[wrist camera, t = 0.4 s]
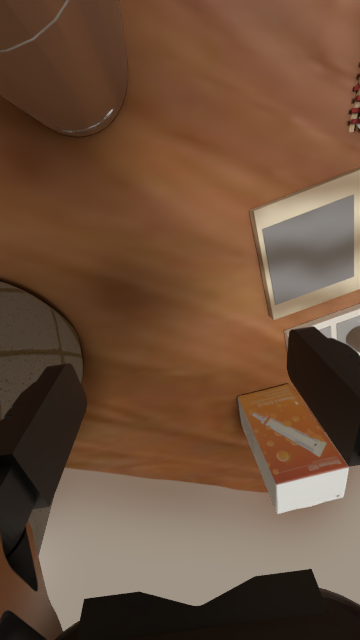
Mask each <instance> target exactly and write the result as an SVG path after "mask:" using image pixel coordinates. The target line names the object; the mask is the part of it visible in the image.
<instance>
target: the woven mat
mask: <svg viewBox="0 0 360 640" xmlns="http://www.w3.org/2000/svg"><path fill="white" fill-rule="evenodd" d="M358 83H359V85H356V86H355V88H354V91H355V92H356V91H358V92H357V94H356V95H355V101H354V106H353V108H352V111H351V114H352V116H351V121H350V130H349V132H353V131H354V127H355V124H356V125H357V126H358V127H359V129H360V117H359V118H358V119H357V116H358V113H360V76H359V80H358Z"/></svg>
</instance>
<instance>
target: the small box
mask: <svg viewBox="0 0 360 640" xmlns="http://www.w3.org/2000/svg"><path fill="white" fill-rule="evenodd" d="M238 404H239V412H240V419H241V425H242V427H243V430H244V433H245V435H246V438H247V440H248V443H249V445H250V448H251V450H252V452H253V455H254V457H255V460H256V462H257V465H258V467H259V470H260V472H261V475H262V477H263V480H264V482H265V485H266V487H267V490H268V492H269V495H270V497H271V500H272V502H273V505H274V507H275V510H276V513H277V514H280V513H283V512H286V511H290V510H294V509H299V508H305V507H310V506H314V505H317V504H319V503H322V502H326V501H330V500H334V499H338V498H343V496H344V492H345V487H346V482H347V476H348V469H349V467H348V465H347V464H346V463H345V461H344V460H343V458H342V457H341V456H340V454H339V453H338V451H337V450H336V449H335V447H334V446H333V445H332V443H331V442H330V440H329V439H328V438H327V436H326V435H325V433H324V432H323V431H322V429H321V428H320V427H319V425H318V424H317V422H316V421H315V420H314V418H313V417H312V416H311V414H310V413H309V411H308V410H307V409H306V407H305V406H304V404H303V403H302V402H301V400H300V399H299V398H298V396H297V395H296V394H295V392H294V391H293V389H292V388H291V387H290V385H289V384H285V385H282V386H278V387H274V388H270V389H266V390H262V391H258V392H254V393H249V394H245V395H240V396H238Z"/></svg>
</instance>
